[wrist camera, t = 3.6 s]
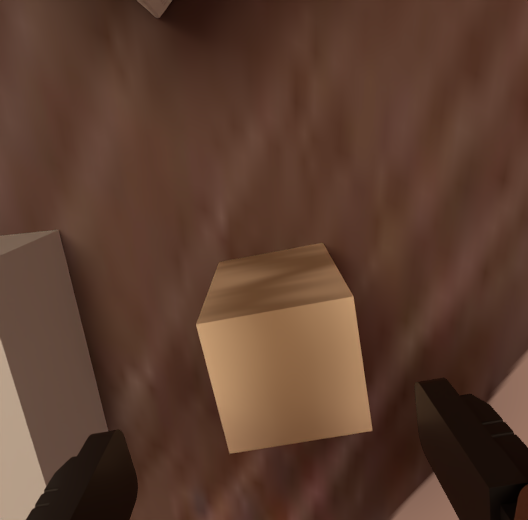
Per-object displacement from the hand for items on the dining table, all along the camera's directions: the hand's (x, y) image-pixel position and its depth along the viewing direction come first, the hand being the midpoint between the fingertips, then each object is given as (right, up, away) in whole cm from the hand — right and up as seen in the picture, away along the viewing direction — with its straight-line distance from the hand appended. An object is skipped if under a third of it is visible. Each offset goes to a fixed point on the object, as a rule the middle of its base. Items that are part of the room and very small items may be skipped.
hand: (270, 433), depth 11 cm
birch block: (+1, +3, +9) cm, 10 cm away
